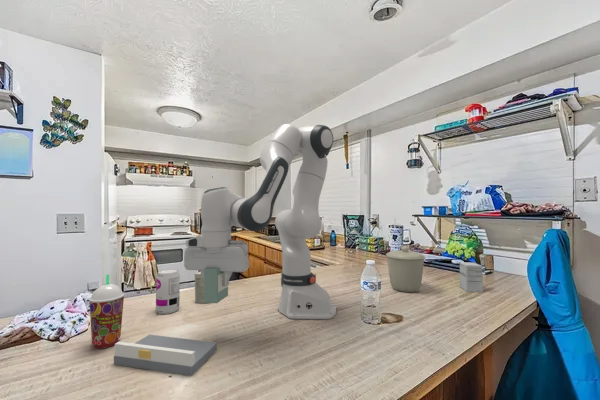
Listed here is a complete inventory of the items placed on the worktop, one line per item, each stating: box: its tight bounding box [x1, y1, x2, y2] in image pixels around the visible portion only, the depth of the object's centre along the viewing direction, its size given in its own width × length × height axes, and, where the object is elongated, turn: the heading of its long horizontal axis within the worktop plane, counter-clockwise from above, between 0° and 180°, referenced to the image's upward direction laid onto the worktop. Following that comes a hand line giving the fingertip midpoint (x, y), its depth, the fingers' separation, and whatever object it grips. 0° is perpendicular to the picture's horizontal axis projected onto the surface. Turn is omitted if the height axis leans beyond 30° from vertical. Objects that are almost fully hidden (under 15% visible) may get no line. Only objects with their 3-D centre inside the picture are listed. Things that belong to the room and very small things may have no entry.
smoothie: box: [89, 274, 125, 349], centre depth 79 cm, size 8×8×20 cm
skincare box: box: [194, 271, 205, 304], centre depth 115 cm, size 6×4×12 cm
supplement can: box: [155, 268, 181, 315], centre depth 105 cm, size 8×8×15 cm
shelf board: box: [113, 334, 218, 377], centre depth 72 cm, size 22×12×5 cm, turn 78°
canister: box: [385, 245, 426, 293], centre depth 133 cm, size 18×18×21 cm
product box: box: [203, 267, 229, 304], centre depth 83 cm, size 4×7×10 cm, turn 168°
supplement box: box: [459, 261, 484, 293], centre depth 132 cm, size 7×7×13 cm
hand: (216, 285), depth 83 cm, fingers closed on product box, 4 cm apart
